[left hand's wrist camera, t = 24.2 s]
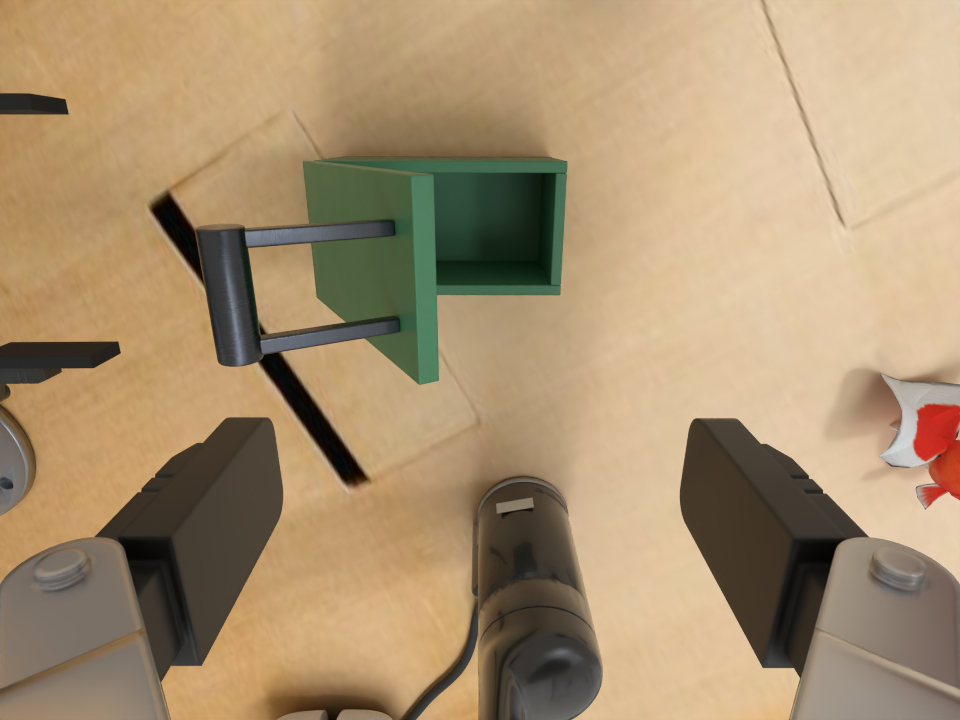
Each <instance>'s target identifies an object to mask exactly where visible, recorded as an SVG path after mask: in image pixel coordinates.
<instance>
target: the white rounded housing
mask: <svg viewBox="0 0 960 720" xmlns="http://www.w3.org/2000/svg"><path fill="white" fill-rule="evenodd" d="M277 720H328V715H327V712H326V710H312V711H301V712H295V713H290V714H287V715H284V716H282V717H280V718H278V719H277ZM337 720H393V719H392V718H391V717H390V716H388V715H387V714H385V713H382V712H378V711H373V710H358V709H349V710H343V711H342V712H341V713H340V714H339V716H338V718H337Z"/></svg>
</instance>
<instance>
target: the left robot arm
mask: <svg viewBox="0 0 960 720" xmlns="http://www.w3.org/2000/svg"><path fill="white" fill-rule="evenodd" d="M282 504H283V485H282V479H281V472H280V465H279V458H278V451H277V444H276V437H275V431H274V426H273V424H272V421H271V420H270V419H269V418H226V419H225V420H224V421H223V422H222V423H221V424H220V425H219V426H218V427H217V428H216V429H215V430H214V432H213V433H212V434H211V435H210V436H209V437H208V438H207V439H206V440H205V441H204V442H203V443H196V444H194V445H193V446H191V447H189V448H187V449H186V450H184V451H182V452H180V453H179V454H177V455H175V456H174V457H172V458H171V459H170V460H169V461H168V462H167V463H166V464H165V465H164V466H163V467H162V468H161V469H160V470H159V471H158V472H157V473H156V474H155V478H151V479H150V480H149V481H148V483H147V484H146V485H145V486H144V487H143V488H142V491H141V492H138V493H137V494H136V495H135V496H134V497H133V498H132V499H131V500H130V501H129V502H128V503H127V504H126V505H125V506H124V507H123V508H122V509H121V510H120V511H119V512H118V513H117V514H116V515H115V516H114V517H113V519H112V520H111V521H110V522H109V523H108V524H107V525H106V526H105V527H104V528H103V529H102V530H101V531H100V532H99V533H98V534H97V535H96V536H95V537H90V538H82V539H77V540H72V541H68V542H65V543H61V544H59V545H56V546H53V547H50V548H48V549H46V550H44V551H42V552H39V553H38V554H36V555H34V556H32V557H30V558H29V559H27V560H26V561H24V562H22V563H21V564H20V565H18V566H17V567H16V568H14V569H13V570H12V571H11V572H10V573H9V574H8V575H7V576H6V577H5V578H4V580H3V581H2V582H1V584H0V720H171V718H170V714H169V710H168V707H167V703H166V699H165V695H164V692H163V688H162V685H161V682H162V680H163V678H164V676H165V675H166V673H167V671H168V670H169V668H170V666H202V664H203V662H204V660H205V658H206V657H207V655H208V653H209V651H210V649H211V647H212V645H213V643H214V642H215V640H216V638H217V636H218V634H219V632H220V630H221V628H222V626H223V625H224V623H225V621H226V619H227V617H228V615H229V613H230V611H231V609H232V608H233V606H234V604H235V602H236V600H237V598H238V596H239V594H240V592H241V591H242V589H243V587H244V585H245V583H246V581H247V579H248V577H249V575H250V574H251V572H252V570H253V568H254V566H255V564H256V562H257V560H258V558H259V557H260V555H261V553H262V551H263V549H264V547H265V545H266V543H267V541H268V540H269V538H270V536H271V534H272V532H273V530H274V528H275V526H276V525H277V523H278V520H279V518H280V515H281V510H282ZM680 505H681V511H682V516H683V519H684V521H685V524H686V525H687V527H688V529H689V531H690V533H691V535H692V537H693V538H694V540H695V542H696V544H697V546H698V548H699V550H700V552H701V553H702V555H703V557H704V559H705V561H706V563H707V565H708V566H709V568H710V570H711V572H712V574H713V576H714V578H715V580H716V581H717V583H718V585H719V587H720V589H721V591H722V593H723V594H724V596H725V598H726V600H727V602H728V604H729V606H730V607H731V609H732V611H733V613H734V615H735V617H736V619H737V621H738V622H739V624H740V626H741V628H742V630H743V632H744V634H745V635H746V637H747V639H748V641H749V643H750V645H751V647H752V648H753V650H754V652H755V654H756V656H757V658H758V660H759V662H760V663H761V665H762V667H763V668H794V669H795V670H796V672H797V674H798V675H799V677H800V681H799V685H798V688H797V692H796V695H795V699H794V703H793V707H792V710H791V714H790V718H789V720H960V584H959V582H958V581H957V580H956V578H955V577H954V576H953V575H952V574H951V573H950V572H949V571H948V570H947V569H946V568H944V567H943V566H942V565H940V564H939V563H938V562H936V561H934V560H933V559H931V558H930V557H928V556H926V555H924V554H922V553H921V552H918V551H916V550H914V549H912V548H910V547H907V546H904V545H901V544H899V543H895V542H892V541H888V540H883V539H878V538H870V537H868V536H867V534H866V533H865V532H864V531H863V530H862V529H861V528H860V527H859V526H858V525H857V524H856V523H855V522H854V521H853V520H852V519H851V518H850V517H849V516H848V515H847V514H846V513H845V512H844V511H843V510H842V509H841V508H840V507H839V506H838V505H837V504H836V503H835V502H834V501H833V500H832V499H831V498H830V497H829V496H828V495H827V494H823V490H822V489H821V488H820V487H819V486H818V485H817V484H816V482H815V481H814V480H813V479H809V475H808V474H807V473H806V472H805V471H804V470H803V469H802V468H801V467H800V466H799V465H798V464H797V463H796V462H795V461H794V460H793V459H792V458H790V457H788V456H787V455H785V454H783V453H781V452H780V451H778V450H776V449H774V448H773V447H771V446H769V445H767V444H760V443H759V442H758V440H757V439H756V438H755V437H754V436H753V435H752V434H751V433H750V432H749V431H748V430H747V429H746V427H745V426H744V425H743V424H742V423H741V422H740V421H739V420H738V419H735V418H696V419H694V420H693V421H692V423H691V425H690V428H689V433H688V439H687V446H686V453H685V460H684V466H683V473H682V480H681V487H680ZM472 593H473V595H474V596H475V597H477V598H478V602H477V604H476V607H475V610H474V613H473V618H472V623H471V629H470V634H469V639H468V643H467V647H466V649H465V652H464V654H463V656H462V658H461V660H460V662H459V663H458V664H457V666H456V667H455V668H454V670H453V671H452V672H451V673H450V674H449V675H448V676H447V677H446V678H444V679H443V680H442V681H441V682H440V683H439V684H437V685H436V686H435V687H434V688H433V689H432V690H431V691H430V692H429V693H428V694H427V695H426V696H425V697H424V698H423V699H422V700H421V701H420V703H419V704H418V705H417V706H416V707H415V708H414V710H413V711H412V712H411V713H410V714H409V716H408V717H407V718H406V720H416V719H417V718H418V717H419V715H420V714H421V713H422V712H423V711H424V710H425V708H426V707H427V706H428V705H429V704H430V703H431V702H432V701H433V700H434V699H435V698H436V697H437V696H438V695H439V694H440V693H441V692H443V691H444V690H445V689H446V688H447V687H448V686H450V685H451V684H452V683H453V682H454V681H455V680H456V679H457V678H458V677H459V676H460V675H461V674H462V672H463V671H464V670H465V668H466V666H467V665H468V663H469V661H470V659H471V657H472V654H473V652H474V648H475V645H476V641H477V636H478V678H479V699H478V720H572V719H574V718H575V717H577V716H578V715H580V714H581V713H582V712H584V711H585V710H586V709H587V708H588V707H589V706H590V705H591V703H592V702H593V701H594V700H595V698H596V696H597V695H598V693H599V690H600V688H601V684H602V677H603V666H602V659H601V655H600V650H599V646H598V642H597V639H596V634H595V630H594V626H593V622H592V617H591V613H590V609H589V605H588V600H587V596H586V592H585V588H584V583H583V579H582V575H581V570H580V566H579V562H578V557H577V553H576V549H575V544H574V540H573V536H572V531H571V527H570V522H569V518H568V510H567V506H566V503H565V500H564V498H563V497H562V495H561V494H560V492H559V491H558V490H557V489H556V488H554V487H553V486H552V485H550V484H549V483H547V482H545V481H542V480H539V479H536V478H530V477H517V478H512V479H508V480H505V481H503V482H500V483H498V484H497V485H495V486H494V487H492V488H491V489H490V490H489V491H488V492H487V493H486V494H485V496H484V497H483V499H482V500H481V502H480V505H479V508H478V522H477V523H476V524H475V525H474V526H473V551H472Z"/></svg>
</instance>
